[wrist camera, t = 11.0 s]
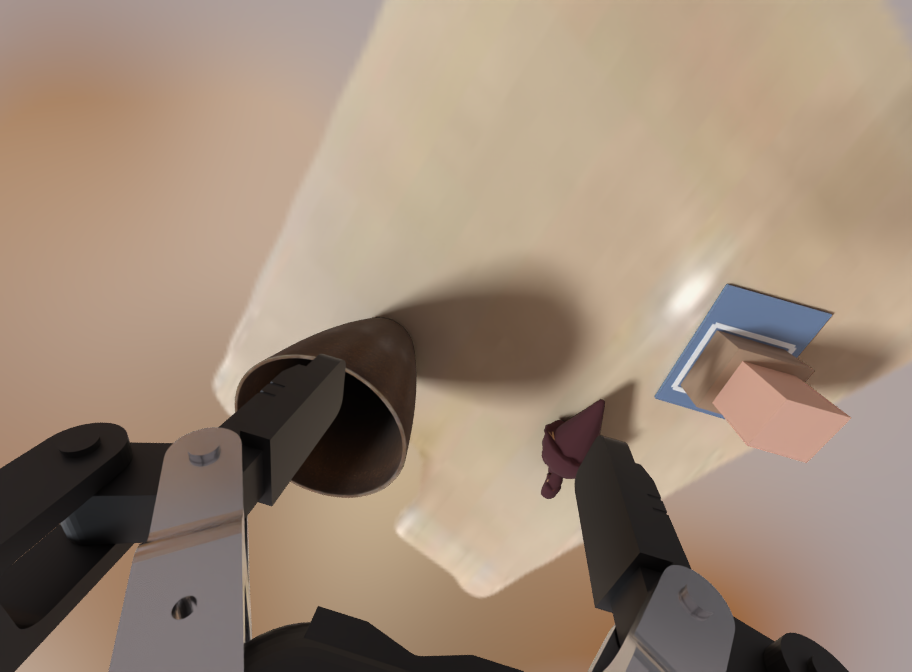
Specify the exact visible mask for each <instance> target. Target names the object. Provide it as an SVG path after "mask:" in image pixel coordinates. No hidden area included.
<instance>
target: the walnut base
mask: <svg viewBox="0 0 912 672" xmlns="http://www.w3.org/2000/svg"><path fill="white" fill-rule="evenodd" d="M742 361H744V362H748V363H751V364H755V365H758V366H762V367H765V368H769V369H773V370H776V371H780V372H783V373H787V374H790V375H794V376H797V377H798V378H799V379H801V380H802V381H803V382H805V381H806V380H807V379H808V378H809V377H810V376H811V375H812V373H813V372H814V371H815V370H813V369H812V368H811V367H809V366H808V365H806V364H805V363H803V362H802V361H800V360H799V359H797V358H796V357H795V356H793V355H792V354H790V353H789V352H787V351H786V350H784V349H780V348H777V347H773V346H770V345H766V344H763V343H759V342H756V341H753V340H749V339H746V338H742V337H739V336H735V335H732V334H728V333H725V332H722V331H718V330H717V331H716V332H715V334H714V335H713V337H712V338H711V340H710V341H709V343H708V344H707V346H706V347H705V349H704V350H703V352H702V353H701V355H700V356H699V358H698V359H697V361H696V362H695V364H694V365H693V367H692V368H691V370H690V371H689V373H688V374H687V376H686V377H685V379H684V380H683V382H682V383H681V387H682V388H683V389H684V391H685V392H686V393H687V395H688V396H689V397H690V399H691V400H692V402H693V403H694V404H695V406H696V407H698V408H701V409H705V410H708V411H711V412H715V413H718V414H721V413H720V412H719V411H718V409H717V408H716V407H715V406H714V404H713V403H712V402H713V401H714V400H715V398H716V397H717V395H718V394H719V393H720V391H721V390H722V389H723V387H724V386H725V385H726V383H727V382H728V380H729V379H730V378H731V376H732V375H733V374H734V372H735V371H736V370H737V368H738V367H739V365H740V364H741V363H742Z"/></svg>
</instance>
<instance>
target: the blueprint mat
mask: <svg viewBox="0 0 912 672" xmlns="http://www.w3.org/2000/svg"><path fill="white" fill-rule="evenodd" d="M831 316H832V314H830V313H827V312H824V311H820V310H817V309H813V308H810V307H806V306H803V305H799V304H796V303H792V302H789V301H785V300H782V299H778V298H775V297H771V296H768V295H764V294H761V293H757V292H754V291H750V290H747V289H743V288H740V287H736V286H733V285H729V284H726V286H725V287H724V289H723V290H722V292H721V294H720V295H719V297H718V298H717V300H716V301H715V303H714V304H713V306H712V308H711V309H710V311H709V312H708V314H707V315H706V317H705V319H704V320H703V322H702V323H701V325H700V326H699V328H698V329H697V331H696V333H695V334H694V336H693V337H692V339H691V340H690V342H689V343H688V345H687V347H686V348H685V350H684V351H683V353H682V354H681V356H680V357H679V359H678V361H677V362H676V364H675V365H674V367H673V368H672V370H671V371H670V373H669V375H668V376H667V378H666V379H665V381H664V382H663V384H662V385H661V387H660V389H659V390H658V392H657V393H656V395H655V396H654V397H655V398H656V399H659V400H662V401H666V402H669V403H672V404H676V405H679V406H682V407H686V408H689V409H693V410H696V411H699V412H703V413H706V414H709V415H713V416H716V417H719V418H723V419H725V418H724V417H723V415H722V414H718V413H715V412H711V411H708V410H705V409H701V408H698V407H696V406H695V404H694V403H693V402H692V400H691V399H690V397H689V396H688V395H687V393H686V392H685V391H684V389H683V388H682V387H681V383H682V382H683V380H684V379H685V377H686V376H687V374H688V373H689V371H690V370H691V368H692V367H693V365H694V364H695V362H696V361H697V359H698V358H699V356H700V355H701V353H702V352H703V350H704V349H705V347H706V346H707V344H708V343H709V341H710V340H711V338H712V337H713V335H714V334H715V332H716V331H717V330H718V331H722V332H725V333H728V334H732V335H735V336H739V337H742V338H746V339H749V340H753V341H756V342H759V343H763V344H766V345H770V346H773V347H777V348H780V349H784V350H786V351H787V352H789V353H790V354H792V355H793V356H795V357H796V358H797V357H798V356H799V355H800V353H801V352H802V351H803V350H804V349H805V347H806V346H807V345H808V344H809V343H810V341H811V340H812V339H813V338H814V337H815V335H816V334H817V333H818V332H819V330H820V329H821V328H822V327H823V326H824V324H825V323H826V322H827V321H828V320H829V318H830V317H831Z"/></svg>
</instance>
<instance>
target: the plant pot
mask: <svg viewBox="0 0 912 672" xmlns="http://www.w3.org/2000/svg"><path fill="white" fill-rule="evenodd" d="M319 354H325V355H328V356H331V357H335V358H338V359H342V360H344V361H345V362H346V369H345V380H344V390H343V399H342V404H341V407H340V410H339V412H338V414H337V416H336V418H335V419H334V421H333V422H332V424H331V425H330V426H329V428H328V429H327V430H326V432H325V433H324V435H323V436H322V437H321V439H320V440H319V442H318V443H317V444H316V446H315V447H314V449H313V450H312V451H311V453H310V454H309V456H308V457H307V458H306V460H305V461H304V463H303V464H302V465H301V467H300V468H299V470H298V471H297V472H296V474H295V475H294V477H293V478H292V479H291V481H290V482H292V483H294V484H296V485H298V486H300V487H302V488H304V489H307V490H309V491H312V492H316V493H319V494H322V495H327V496H333V497H343V498H350V497H351V498H353V497H362V496H366V495H370V494H373V493H376V492H378V491H380V490H382V489H384V488H386V487H387V486H388V485H390V484H391V483H392V482H393V481H394V480H395V479H396V478H397V477H398V475H399V474H400V472H401V470H402V468H403V466H404V463H405V459H406V455H407V450H408V445H409V440H410V435H411V430H412V424H413V417H414V410H415V399H416V360H415V352H414V347H413V343H412V339H411V337H410V336H409V334H408V332H407V331H406V330H405V329H404V328H403V327H402V326H401V325H400V324H398V323H396V322H394V321H393V320H390V319H386V318H370V319H364V320H358V321H354V322H350V323H346V324H343V325H340V326H336V327H333V328H331V329H328V330H325V331H322V332H320V333H317V334H315V335H313V336H310V337H308V338H306V339H304V340H302V341H299V342H297V343H295V344H293V345H291V346H290V347H288V348H286V349H284V350H282V351H280V352H278V353H276V354H275V355H273V356H271V357H269V358H267V359H265V360H263V361H261V362H259V363H258V364H256V365H255V366H253V367H252V368H251V369H250V370H249V371H248V372H247V373H246V374H245V375H244V376H243V378H242V379H241V381H240V383H239V385H238V387H237V391H236V396H235V412H237V411H238V410H239V409H240V408H241V407H242V406H243V405H245V404H246V403H247V402H248V401H249V400H250V399H251V398H252V397H254V396H255V395H256V394H257V393H260V390H262V389H263V388H264V387H265V386H266V385H267V384H270V382H271V381H272V380H273V379H274V378H275V377H276V376H277V375H279V374H280V373H281V372H282V371H284V370H286V369H289V368H291V367H293V366H296V365H298V364H300V365H303V366H307V365H308V364H309V363H310V362H311V361H312V360H313V359H315V358H316V357H317V356H318V355H319Z"/></svg>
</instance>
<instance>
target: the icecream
mask: <svg viewBox="0 0 912 672" xmlns="http://www.w3.org/2000/svg"><path fill="white" fill-rule="evenodd" d="M604 407H605V401H604V400H602V399H600V400H598V401H597V402H595V403H594V404H592V405H591V406H589V407H588V408H586V409H585V410H583V411H582V412H580V413H578V414H577V415H575V416H574V417H572V418H571V419H569V420H567V421H562V420H556V421H554V422H553V423H551V424H548V425H546V426H545V430H544V432H545V435H544V438H543V441H542V446H543V451H542V458H543V461H544V462H545V464H547V465H548V467H549V468H548V472H549V473H548V474H547V478H546V480H545V483H544V485H543V487H542V490H541V495H542V496H543V497H545V498H546V499H551V498H554V497H555V496H556V494H557V493H558V492H559V490H560V489H561V484H562V481H563V478H565V479H575V478H576V474H577V471H578V469H579V467H580V465H581V463H582V462H583V460H584V458H585V456H586V454H587V453H588V451H589V449H590V447H591V446H592V444H593V442H594V440H595V439H596V438H597V437H598V436H599V435H600V431H601V425H602V419H603V413H604Z"/></svg>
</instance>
